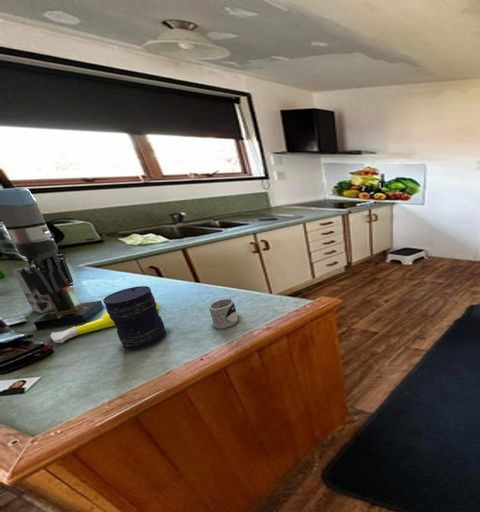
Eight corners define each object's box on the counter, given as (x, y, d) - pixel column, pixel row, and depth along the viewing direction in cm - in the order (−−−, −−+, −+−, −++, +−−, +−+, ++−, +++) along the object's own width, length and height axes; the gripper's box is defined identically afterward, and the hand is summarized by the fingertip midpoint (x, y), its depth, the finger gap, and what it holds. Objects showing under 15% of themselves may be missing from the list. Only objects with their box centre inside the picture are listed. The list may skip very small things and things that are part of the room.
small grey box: (55, 313, 89) (43, 291, 86) (61, 310, 91) (49, 288, 88) (77, 310, 90) (66, 288, 87) (82, 307, 92) (71, 285, 89)
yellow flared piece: (161, 309, 95) (57, 350, 76) (150, 301, 101) (51, 337, 82) (158, 302, 94) (52, 341, 75) (147, 294, 100) (46, 329, 81)
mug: (233, 326, 83) (228, 308, 81) (210, 329, 82) (204, 310, 80) (244, 310, 92) (239, 292, 90) (223, 312, 92) (218, 294, 89)
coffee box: (42, 313, 95) (19, 271, 90) (32, 310, 97) (9, 269, 92) (76, 301, 103) (57, 261, 98) (67, 298, 105) (48, 260, 100)
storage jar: (157, 346, 75) (139, 299, 70) (115, 354, 73) (92, 306, 68) (172, 326, 84) (157, 283, 79) (135, 333, 82) (116, 289, 77)
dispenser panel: (37, 330, 85) (32, 321, 84) (61, 314, 94) (57, 306, 93) (85, 322, 89) (81, 314, 88) (104, 307, 98) (100, 299, 97)
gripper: (28, 246, 76) (65, 317, 84) (68, 233, 90) (96, 295, 98) (-8, 249, 74) (33, 322, 82) (38, 235, 88) (70, 299, 96)
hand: (67, 307), depth 90 cm, fingers closed on small grey box, 2 cm apart
